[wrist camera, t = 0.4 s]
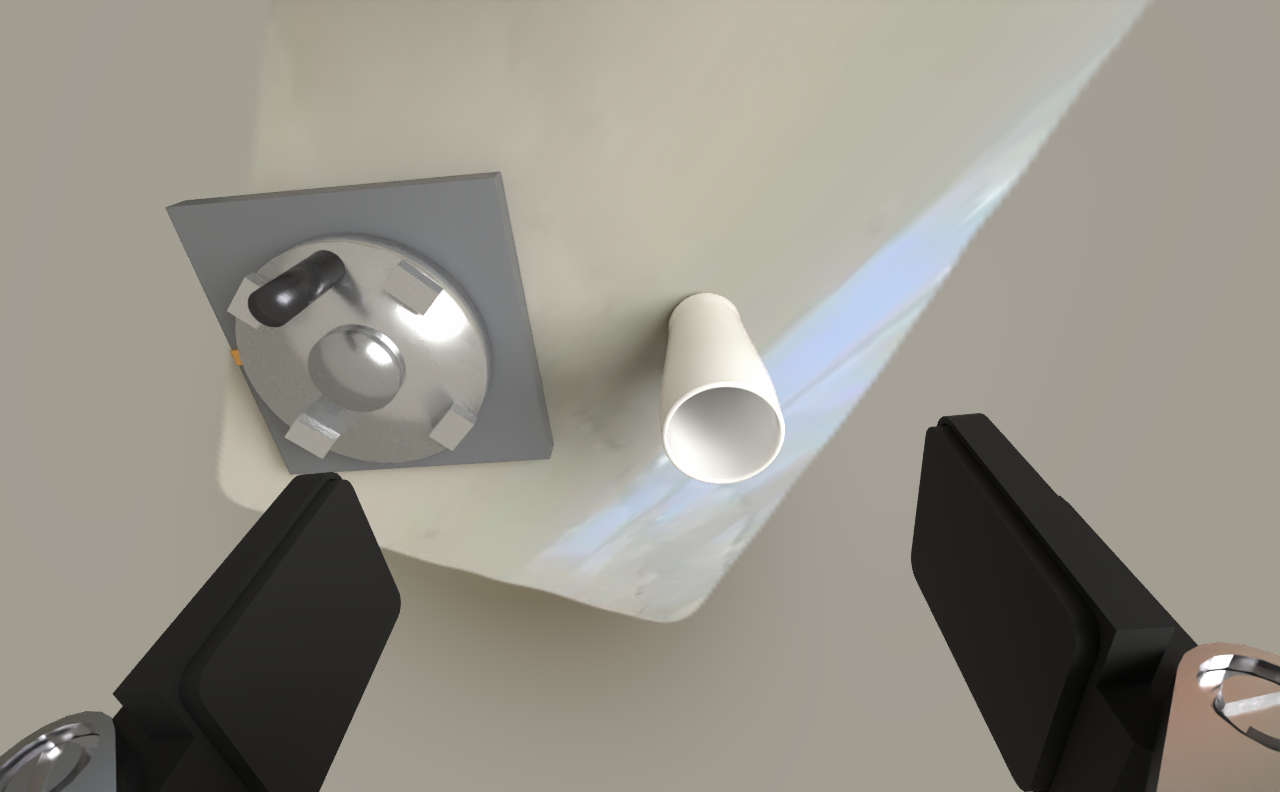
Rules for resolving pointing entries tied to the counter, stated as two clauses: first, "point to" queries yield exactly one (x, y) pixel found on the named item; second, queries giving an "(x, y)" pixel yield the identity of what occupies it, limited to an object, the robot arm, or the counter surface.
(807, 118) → the counter surface
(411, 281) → the round metal lid
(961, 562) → the robot arm
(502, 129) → the counter surface
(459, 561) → the counter surface
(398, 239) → the gray square base plate
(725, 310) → the drinking glass
